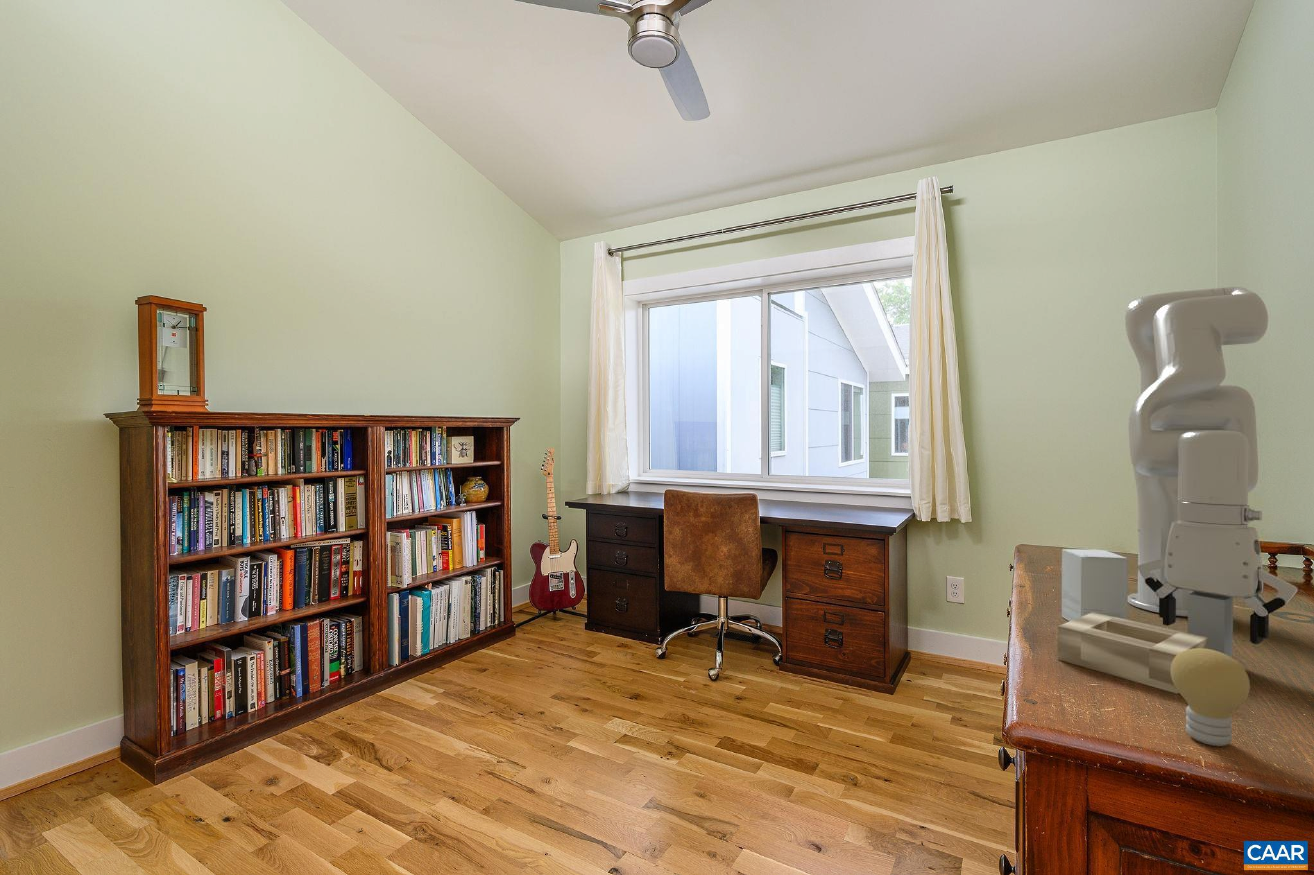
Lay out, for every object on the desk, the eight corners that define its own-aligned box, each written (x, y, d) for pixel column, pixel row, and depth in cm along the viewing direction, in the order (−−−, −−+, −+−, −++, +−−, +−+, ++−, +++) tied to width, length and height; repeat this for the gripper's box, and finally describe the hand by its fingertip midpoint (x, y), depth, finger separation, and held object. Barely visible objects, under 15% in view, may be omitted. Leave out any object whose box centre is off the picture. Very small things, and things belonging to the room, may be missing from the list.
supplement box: (1129, 632, 101) (1129, 558, 101) (1079, 630, 103) (1080, 556, 103) (1105, 619, 109) (1106, 549, 108) (1060, 616, 110) (1060, 547, 110)
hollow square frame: (1092, 643, 96) (1092, 612, 96) (1207, 672, 85) (1208, 637, 85) (1057, 659, 90) (1057, 626, 90) (1177, 693, 78) (1177, 655, 78)
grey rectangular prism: (1196, 655, 91) (1197, 590, 91) (1232, 664, 88) (1233, 596, 88) (1187, 661, 89) (1188, 594, 89) (1223, 670, 85) (1224, 600, 85)
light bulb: (1155, 727, 69) (1155, 641, 69) (1206, 725, 70) (1207, 639, 70) (1210, 757, 63) (1211, 662, 63) (1266, 754, 63) (1267, 660, 63)
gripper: (1303, 520, 83) (1302, 645, 83) (1148, 507, 97) (1147, 614, 97) (1290, 524, 79) (1289, 655, 78) (1129, 510, 93) (1129, 621, 93)
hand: (1210, 632), depth 88 cm, fingers open, 9 cm apart
